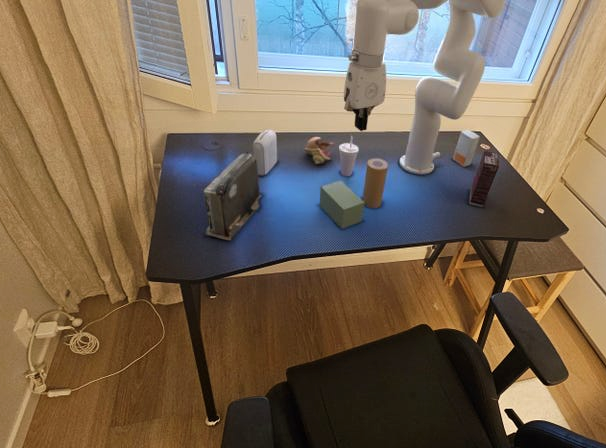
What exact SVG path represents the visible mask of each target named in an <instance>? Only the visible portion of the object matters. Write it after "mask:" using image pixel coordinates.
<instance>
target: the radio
mask: <svg viewBox="0 0 606 448" xmlns="http://www.w3.org/2000/svg"><path fill="white" fill-rule="evenodd" d="M203 196H204V204H205V205H204V206H205V210H206V215H207V224H208V226H207V228H206V231H205V235H206V236H211V237H214V238H218V239H222V240H224V241H225V240H226V241H232V240H233V239H234V237H235V236H236V235H237V234H238V232H239V231H240V230H241V229H242V228H243V227H244V226H245V225H246V223H247V222H248V221H249V220H250V219H251V217H252V216H253V215H254V214H255V213H256V211H257V210H258V209H259V207H260V204H259V201H260V200H259V199H260V198H261V197H262V195H261V194H260V185H259V175H258V171H257V160H256V158H255V157H254V156H253V154H251V153H250V152H248V151H246V152H245V153H241V154H239V156H237V157H236V158H235V159H234V160H233V161H232V162H231V163H229V165H227V167H225V168H224V169H223V170H222V171H221V173H220V174H219V175H217V176H216V177H215V178H213V179H212V180H211V181H210V182H209V184H208V186H207V187H205V188H204V190H203Z"/></svg>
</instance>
